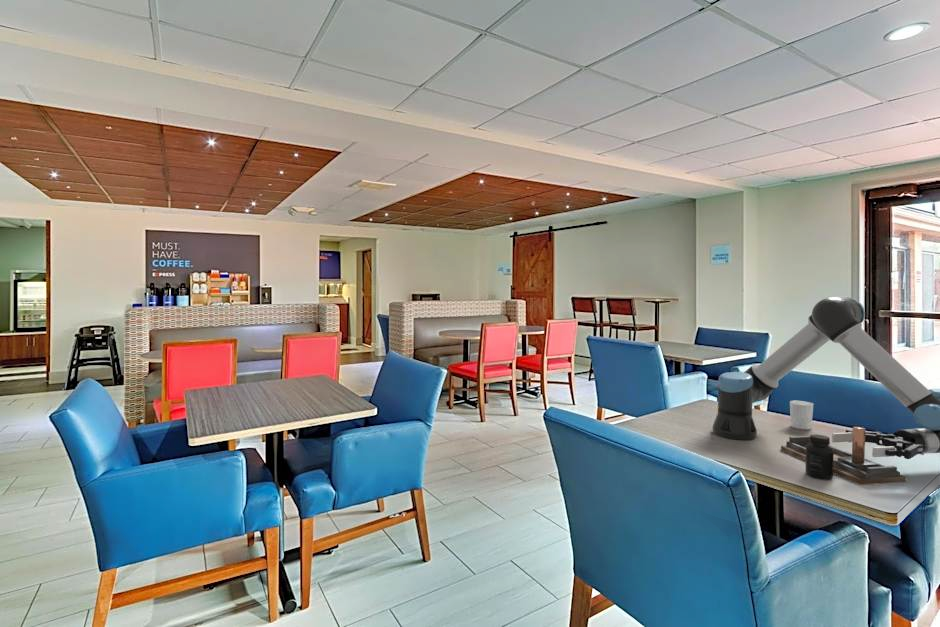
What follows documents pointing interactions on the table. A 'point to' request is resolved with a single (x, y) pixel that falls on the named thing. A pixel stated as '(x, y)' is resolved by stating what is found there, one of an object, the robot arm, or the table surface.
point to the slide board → (870, 476)
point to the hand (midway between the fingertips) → (852, 444)
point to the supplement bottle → (819, 457)
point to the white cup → (801, 414)
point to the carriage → (858, 452)
